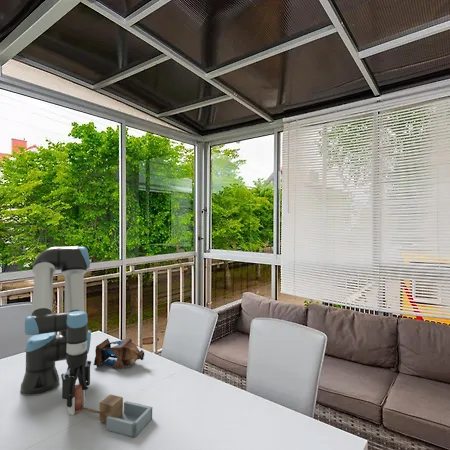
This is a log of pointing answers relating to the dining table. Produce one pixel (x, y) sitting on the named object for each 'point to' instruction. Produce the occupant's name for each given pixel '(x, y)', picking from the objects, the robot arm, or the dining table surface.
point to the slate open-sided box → (130, 419)
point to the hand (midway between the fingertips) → (76, 409)
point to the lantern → (117, 353)
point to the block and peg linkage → (100, 405)
